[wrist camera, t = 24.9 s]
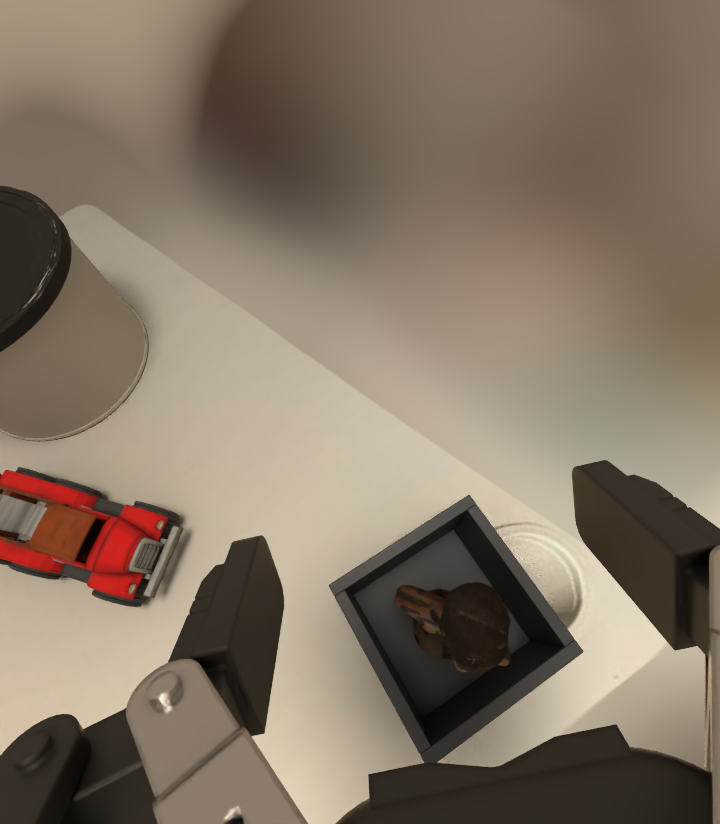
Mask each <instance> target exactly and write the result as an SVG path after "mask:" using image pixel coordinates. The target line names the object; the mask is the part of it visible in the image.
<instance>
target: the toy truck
mask: <svg viewBox="0 0 720 824" xmlns="http://www.w3.org/2000/svg"><path fill="white" fill-rule="evenodd" d="M0 488H1V489H0V564H4V565H9V567H10V568H11V569H13V570H16V571H19V572H22V573H25V574H29V575H33V576H37V577H42V578H47V579H59V578H60V576H61V575H63V576H67V577H70V578H73V579H76V580H79V581H82V582H85V583H87V585H88V586H89V587H90V588H93V589H94V591H93V592H92V595H94V596H95V597H97V598H100V599H103V600H106V601H109V602H112V603H117V604H121V605H126V606H132V607H140V606H141V605H142V604H141V603H142V602H143V600H144V598H145V596H147V597H155V595H156V592H157V590H158V587H159V585H160V583H161V580H162V578H163V576H164V573H165V571H166V568H167V566H168V564H169V561H170V559H171V557H172V554H173V552H174V549H175V547H176V545H177V542H178V540H179V538H180V535H181V533H182V530H183V529H182V528H179V527H176V526H175V525H176V522H177V521H178V518H179V515H178V514H176V513H174V512H171V511H169V510H166V509H163V508H160V507H157V506H154V505H151V504H147V503H144V502H139V501H136V502H135V503H134V505H133V506H129V505H121V504H118V503H115V502H111V501H108V500H104V499H101V498H100V497H101V495H102V493H101V492H99V491H97V490H94V489H92V488H89V487H86V486H83V485H80V484H77V483H74V482H71V481H67V480H64V479H56V478H53V477H51V476H48V475H45V474H42V473H39V472H36V471H33V470H29V469H26V468H21V467H18V469H17V471H16V472H13V471H10V470H5V471H4V473H3V475H1V474H0ZM3 489H4V490H3ZM30 497H31V498H30ZM33 498H34V499H33ZM36 499H37V500H36ZM39 500H41V501H39ZM42 501H44V502H42ZM45 502H47V503H45ZM162 533H165V534H169V537H168V539H163V538H160V536H161V534H162ZM5 536H6V537H5ZM8 537H11V538H16V539H20V540H23V541H26V542H25V543H23V542H20V541H17V540H14V539H11V538H8ZM164 544H165V546H164V548H163V545H164ZM160 548H163V551H162V553H161V555H160V558H159V560H158V562H157V565H156V567H155V569H154V572H153V574H151V573H152V571H153V570H151V569H152V566H153V564H154V562H155V559H156V557H157V555H158V552H159V550H160ZM142 578H146V579H149V580H150V581H149V583H145V582H143V581H141V580H142Z"/></svg>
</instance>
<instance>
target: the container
mask: <svg viewBox="0 0 720 824" xmlns="http://www.w3.org/2000/svg"><path fill="white" fill-rule="evenodd" d="M147 353H148V338H147V333H146V329H145V327H144V324H143V322H142V320H141V319H140V317H139V315H138V314H137V313H136V312H135V310H134V309H132V308H131V307H130V306H129V305H128V304H127V303H126V302H125V301H124V300H123V299H122V298H121V297H120V295H119V294H118V293H117V292H116V291H115V290H114V288H113V287H112V286H111V285H110V284H109V283H108V281H107V280H106V279H105V278H104V277H103V275H102V274H101V273H100V272H99V271H98V270H97V268H96V267H95V266H94V265H93V264H92V263H91V261H90V260H89V259H88V258H87V257H86V256H85V254H84V253H83V252H82V251H81V250H80V249H79V247H78V246H77V245H76V244H75V243H74V242H73V240H72V239H71V238H70V237H69V234H68V231H67V229H66V227H65V226H64V224H63V222H62V221H61V220H60V219H59V217H58V216H57V215H56V214H55V213H54V212H53V210H52V209H51V208H50V207H49V206H48V205H47V204H46V203H45V202H44V201H43V200H41V199H40V198H39V197H37V196H35V195H33V194H31V193H29V192H27V191H23V190H20V189H16V188H12V187H5V186H0V431H2V432H4V433H6V434H8V435H10V436H13V437H16V438H19V439H23V440H31V441H49V440H56V439H60V438H65V437H68V436H71V435H74V434H77V433H79V432H82V431H84V430H86V429H88V428H90V427H92V426H93V425H95V424H97V423H98V422H100V421H101V420H103V419H104V418H106V417H107V416H108V415H110V414H111V413H112V412H113V411H114V410H116V409H117V408H118V407H119V406H120V405H121V403H122V402H123V401H124V400H125V399H126V398H127V397H128V395H129V394H130V393H131V392H132V390H133V389H134V387H135V385H136V384H137V382H138V380H139V378H140V376H141V374H142V372H143V369H144V366H145V363H146V359H147Z"/></svg>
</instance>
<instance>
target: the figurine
mask: <svg viewBox="0 0 720 824" xmlns="http://www.w3.org/2000/svg"><path fill="white" fill-rule="evenodd" d="M395 604H396V605H397V606H398V607H399V608H400V609H401V610H402V611H404V612H405V613H407V614H408V615H410V616H411V617H413V618H414V623H413V625H414V629H413V630H414V631H413V632H414V637H415V639H416V642H417V644H418V645H419V646H420V648H421V649H422V650H424V651H425V652H427V653H428V654H430V655H432V656H435V657H437V658H442V659H451V658H453V660H454V664H455V668H456V669H457V670H458V671H460V672H470V671H473V672H477V671H482V670H486V669H489V668H493V667H495V666H497V665H501V666H507V665H508V664H509V663H510V655H511V654H510V651H509V647H508V634H509V627H510V624H511V622H510V616H509V615H508V610H507V608H506V607H505V605H504V602H503V601H502V599H501V597H500V595H499V594H498V592H497V591H496V590H495V589H493V588H492V587H490V586H488V585H486V584H484V583H480V582H472V583H465V584H462V585H460V586H458V587H457V588H454V589H452V590H451V591H448V590H444V589H434V590H430V591H426V590H424V589H422V588H418V587H416V586H412V585H402V586H400V587H398V588H397V591H396V596H395Z"/></svg>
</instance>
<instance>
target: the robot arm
mask: <svg viewBox="0 0 720 824" xmlns="http://www.w3.org/2000/svg"><path fill="white" fill-rule="evenodd" d="M572 480H573V494H574V507H575V519H576V525H577V528H578V531H579V534H580V536H581V538H582V540H583V542H584V543H585V544H586V546H587V547H588V548H589V549H590V550H591V552H592V553H593V554H594V555H595V556H596V558H597V559H598V560H599V561H600V562H601V564H602V565H603V566H604V567H605V568H606V569H607V571H608V572H609V573H610V574H611V575H612V577H613V578H614V579H615V580H616V581H617V582H618V584H619V585H620V586H621V587H622V588H623V590H624V591H625V592H626V593H627V594H628V596H629V597H630V598H631V599H632V600H633V601H634V603H635V604H636V605H637V606H638V607H639V609H640V610H641V611H642V612H643V613H644V615H645V616H646V617H647V618H648V619H649V620H650V622H651V623H652V624H653V625H654V626H655V628H656V629H657V630H658V631H659V632H660V633H661V635H662V636H663V637H664V638H665V639H666V641H667V642H668V643H669V644H670V645H671V646H672V648H673V649H674V650H680V649H685V648H689V647H694V646H698V647H699V648H700V649H701V650H702V651H703V653H704V654H705V751H704V753H705V755H704V759H705V760H704V769H702V768H700V767H698V766H696V765H694V764H691V763H689V762H686V761H684V760H682V759H679V758H676V757H674V756H670V755H667V754H664V753H660V752H657V751H652V750H647V749H642V748H634V747H629V745H628V744H627V742H626V741H625V739H624V737H623V735H622V733H621V732H620V730H619V728H618V727H617V725H612V726H606V727H601V728H596V729H591V730H586V731H581V732H576V733H572V734H567V735H561V736H556V737H553V738H552V739H550V740H548V741H546V742H544V743H542V744H540V745H539V746H537V747H535V748H533V749H531V750H529V751H527V752H526V753H524V754H522V755H520V756H518V757H516V758H514V759H513V760H511V761H509V762H507V763H505V764H503V765H501V766H498V767H479V766H467V765H455V764H442V763H430V762H428V763H423V764H418V765H413V766H408V767H403V768H398V769H393V770H388V771H383V772H378V773H373V774H368V777H369V795H370V798H369V799H367V800H366V801H364V802H362V803H360V804H359V805H357V806H356V807H355V808H353V809H352V810H351V811H349V812H348V813H347V814H345V815H344V816H343V817H342V818H341V819H340V820H339V821H338V822H337V823H336V824H720V529H719V528H718V527H716V526H715V525H714V524H712V523H711V522H709V521H708V520H707V519H705V518H704V517H703V516H701V515H700V514H698V513H697V512H696V511H694V510H693V509H692V508H690V507H689V508H687V506H686V504H685V503H683V502H682V501H681V500H679V499H678V498H676V497H673V495H672V494H671V493H669V492H668V491H667V490H665V489H664V488H663V487H661V486H660V485H658V484H657V483H655V482H653V481H650V480H647V479H645V478H642V477H639V476H636V475H630V476H627V475H625V474H624V473H623V472H621V471H620V470H619V469H618V468H616V467H615V466H614V465H612V464H611V463H610V462H608V461H606V460H604V461H599V462H594V463H590V464H585V465H581V466H576V467H574V468H573V471H572ZM283 610H284V595H283V589H282V584H281V581H280V578H279V575H278V573H277V570H276V567H275V564H274V561H273V558H272V556H271V553H270V550H269V547H268V544H267V542H266V539H265V538H264V537H263V536H262V535H261V536H256V537H252V538H247V539H243V540H238V541H234V542H233V543H232V544H231V547H230V550H229V552H228V555H227V558H226V561H225V563H224V564H221V565H216V566H215V567H214V568H213V569H212V570H211V571H210V573H209V574H208V575H207V576H206V577H205V578H204V579H203V581H202V582H201V585H200V587H199V589H198V592H197V594H196V597H195V601H193V604H192V606H191V609H190V611H189V612H190V614H189V615H188V616H187V618H186V621H185V623H184V625H183V628H182V630H181V633H180V635H179V637H178V640H177V642H176V645H175V647H174V649H173V652H172V654H171V657H170V659H169V661H168V663H167V664H165V665H163V666H161V667H159V668H158V669H156V670H154V671H153V672H152V673H151V674H149V675H148V676H147V677H146V678H145V679H144V680H143V681H142V682H141V683H140V684H139V685H138V686H137V688H136V689H135V690H134V692H133V694H132V695H131V697H130V699H129V702H128V704H127V708H125V709H124V710H122V711H120V712H118V713H116V714H114V715H112V716H109V717H107V718H105V719H103V720H101V721H99V722H97V723H95V724H93V725H91V726H89V727H87V728H85V729H82V727H81V725H80V724H79V722H78V720H77V719H76V718H75V717H74V716H72V715H69V714H61V715H56V716H53V717H49V718H47V719H45V720H43V721H41V722H39V723H37V724H36V725H34V726H32V727H31V728H30V729H28V730H27V731H25V732H24V733H23V734H22V735H20V736H19V737H18V738H17V739H16V740H15V741H14V742H12V743H11V745H10V746H9V747H8V748H7V749H6V750H5V751H4V752H3V753H2V755H1V756H0V824H308V823H307V822H306V820H305V818H304V817H303V815H302V814H301V812H300V811H299V809H298V808H297V806H296V805H295V803H294V802H293V800H292V798H291V797H290V795H289V794H288V792H287V791H286V789H285V788H284V786H283V785H282V783H281V782H280V780H279V779H278V777H277V775H276V774H275V772H274V771H273V769H272V768H271V766H270V765H269V763H268V762H267V760H266V759H265V757H264V756H263V754H262V752H261V751H260V749H259V748H258V746H257V745H256V743H255V742H254V740H253V739H252V737H251V736H254V735H259V734H264V733H265V726H266V720H267V713H268V707H269V701H270V694H271V688H272V681H273V675H274V668H275V662H276V655H277V649H278V642H279V636H280V629H281V623H282V616H283Z"/></svg>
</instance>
